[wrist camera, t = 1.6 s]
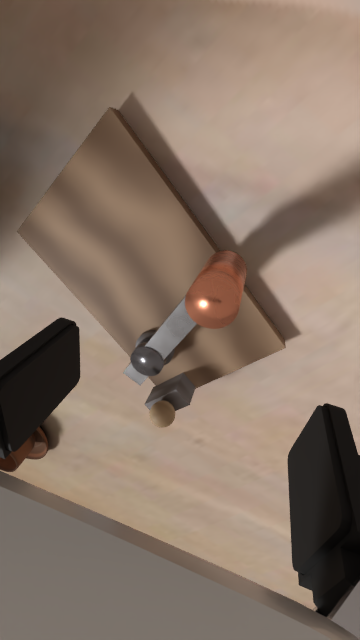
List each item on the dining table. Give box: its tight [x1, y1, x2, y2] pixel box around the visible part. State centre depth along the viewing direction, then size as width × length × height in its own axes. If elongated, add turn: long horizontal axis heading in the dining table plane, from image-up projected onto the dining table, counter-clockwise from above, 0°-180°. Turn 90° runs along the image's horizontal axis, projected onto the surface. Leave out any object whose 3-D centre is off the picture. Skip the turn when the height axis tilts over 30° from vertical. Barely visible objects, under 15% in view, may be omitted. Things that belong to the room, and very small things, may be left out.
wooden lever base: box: [17, 107, 286, 428], centre depth 27 cm, size 16×26×7 cm, turn 40°
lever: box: [123, 250, 247, 385], centre depth 25 cm, size 18×4×8 cm, turn 145°
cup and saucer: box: [0, 427, 48, 472], centre depth 49 cm, size 12×12×6 cm
